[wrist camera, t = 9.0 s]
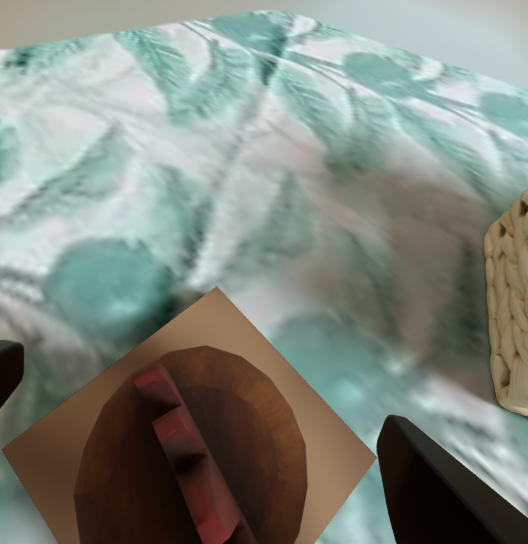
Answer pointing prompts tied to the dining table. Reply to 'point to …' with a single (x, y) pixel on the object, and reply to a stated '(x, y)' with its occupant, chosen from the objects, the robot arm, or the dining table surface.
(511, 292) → the storage basket
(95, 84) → the dining table surface
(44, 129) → the dining table surface
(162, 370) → the wooden figurine
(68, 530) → the light brown wooden stand
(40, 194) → the dining table surface
